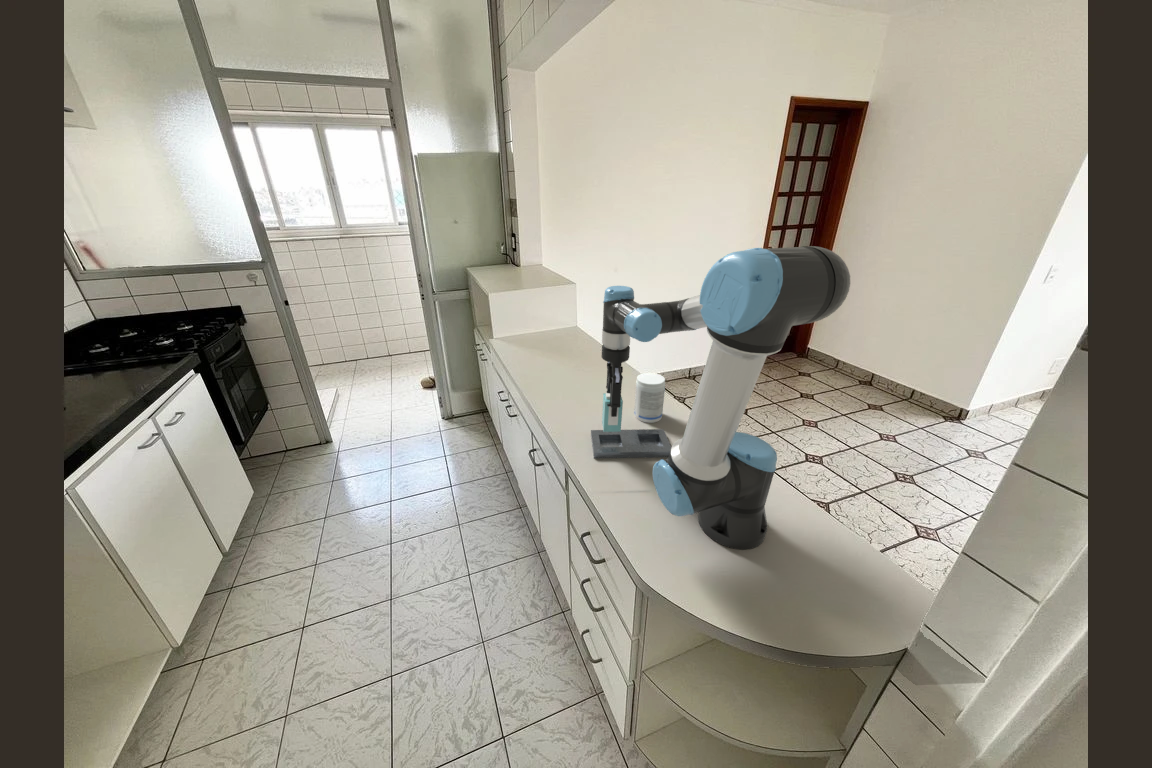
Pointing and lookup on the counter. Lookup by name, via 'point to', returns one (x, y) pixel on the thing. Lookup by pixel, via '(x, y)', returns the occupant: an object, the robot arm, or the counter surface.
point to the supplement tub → (649, 397)
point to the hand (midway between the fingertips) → (611, 419)
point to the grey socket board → (630, 444)
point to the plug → (606, 411)
